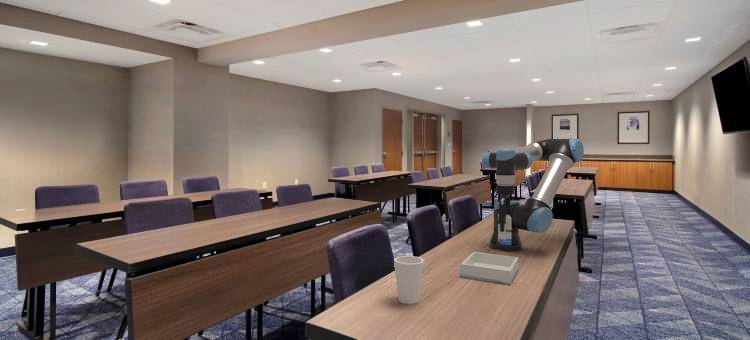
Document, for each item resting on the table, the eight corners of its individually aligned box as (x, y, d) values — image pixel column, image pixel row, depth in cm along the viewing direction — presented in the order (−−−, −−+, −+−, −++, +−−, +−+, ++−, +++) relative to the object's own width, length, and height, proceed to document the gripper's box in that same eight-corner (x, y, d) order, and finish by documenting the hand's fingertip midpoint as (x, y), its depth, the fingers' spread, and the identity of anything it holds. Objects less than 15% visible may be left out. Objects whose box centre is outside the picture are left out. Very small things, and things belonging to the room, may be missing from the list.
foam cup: (392, 294, 130) (392, 256, 129) (419, 294, 130) (420, 255, 130) (396, 306, 120) (396, 264, 119) (426, 305, 121) (426, 264, 120)
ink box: (511, 245, 165) (512, 217, 164) (499, 244, 166) (499, 217, 165) (509, 240, 173) (509, 213, 172) (497, 239, 174) (497, 213, 173)
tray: (473, 263, 166) (473, 251, 165) (518, 269, 157) (518, 257, 157) (460, 277, 148) (460, 264, 148) (510, 285, 139) (510, 271, 139)
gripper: (500, 182, 179) (500, 230, 181) (490, 187, 160) (490, 241, 161) (518, 182, 176) (517, 232, 177) (510, 187, 156) (509, 243, 158)
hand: (504, 236), depth 169 cm, fingers closed on ink box, 9 cm apart
